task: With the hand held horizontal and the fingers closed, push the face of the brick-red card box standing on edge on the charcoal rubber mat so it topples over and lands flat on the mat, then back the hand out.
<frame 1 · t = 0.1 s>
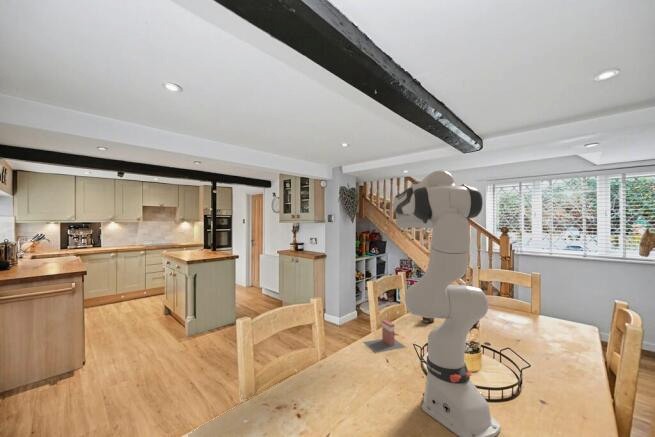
hand: (414, 234, 144), 54 cm above the table, tool tilted 30°, fingers open, 8 cm apart
card box: (388, 342, 131), resting on mat
mat: (384, 345, 129), on the table
food container: (430, 322, 161), on the table
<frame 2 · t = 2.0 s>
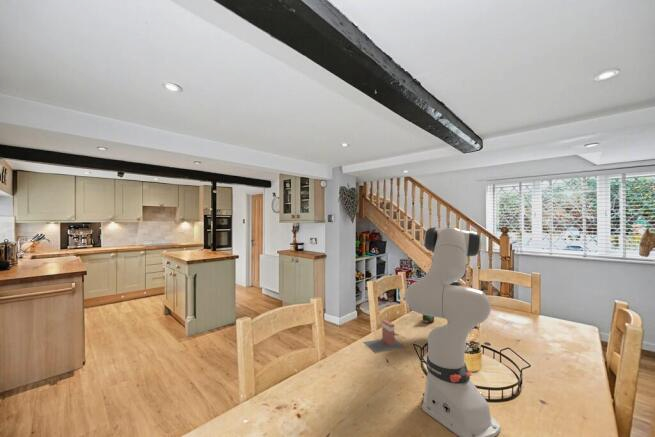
hand: (408, 300, 136), 20 cm above the table, tool horizontal, fingers open, 6 cm apart
nothing on the table moved.
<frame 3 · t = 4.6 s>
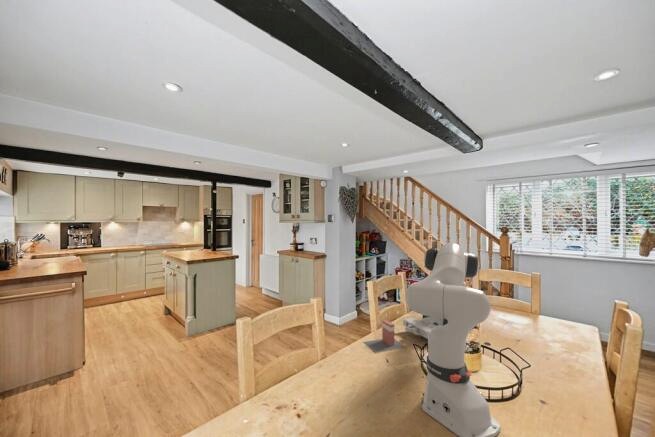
hand: (406, 329, 135), 5 cm above the table, tool horizontal, fingers closed
nothing on the table moved.
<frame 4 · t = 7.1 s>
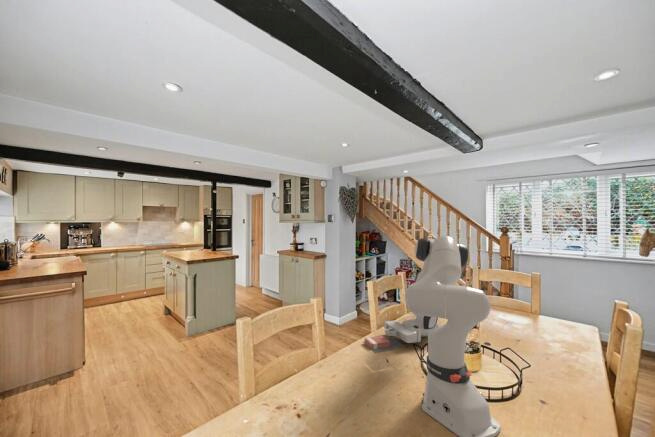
hand: (386, 332, 131), 5 cm above the table, tool horizontal, fingers closed
card box: (385, 340, 131), point 2 cm above the table, tilted 90°, touching mat
everything else where it was.
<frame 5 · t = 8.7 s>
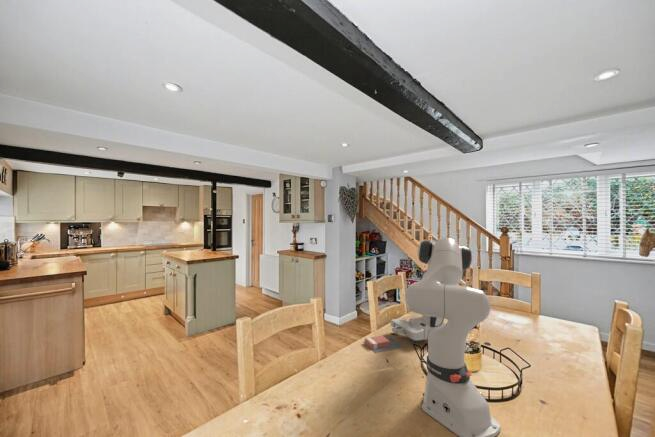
hand: (393, 330, 133), 6 cm above the table, tool horizontal, fingers closed
nothing on the table moved.
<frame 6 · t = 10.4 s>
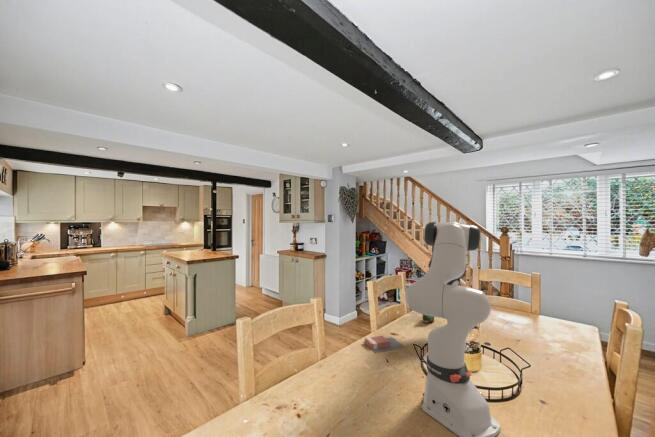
hand: (408, 291, 136), 25 cm above the table, tool horizontal, fingers closed
nothing on the table moved.
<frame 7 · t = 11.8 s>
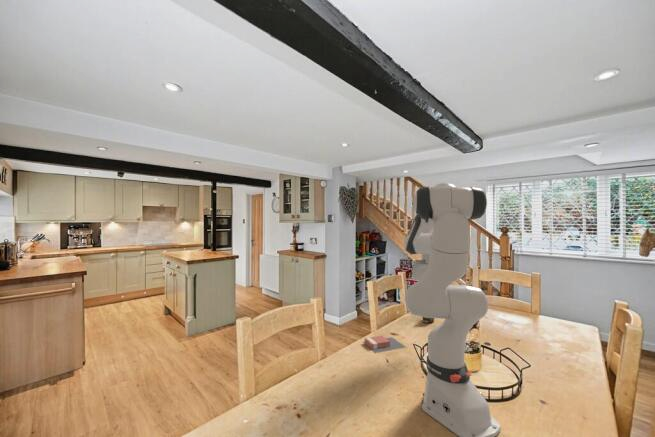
hand: (431, 287, 129), 28 cm above the table, tool pointing down, fingers closed
nothing on the table moved.
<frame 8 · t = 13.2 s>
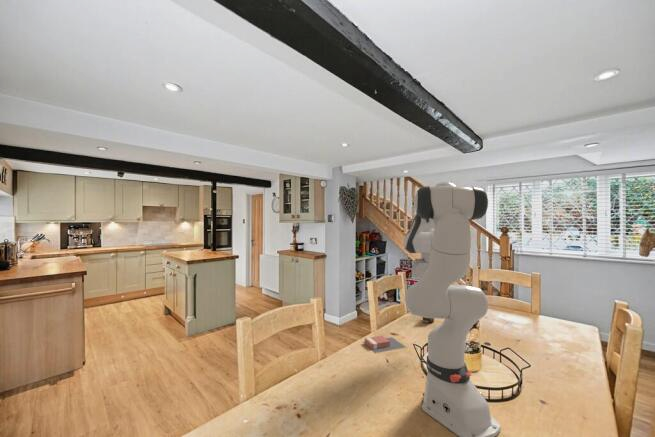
hand: (430, 286, 129), 29 cm above the table, tool pointing down, fingers closed
nothing on the table moved.
at the end: card box tilted 90°; card box inside the target area on the mat (1.9 cm from its centre), point 1.6 cm above the mat's base; the gripper is holding nothing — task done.
